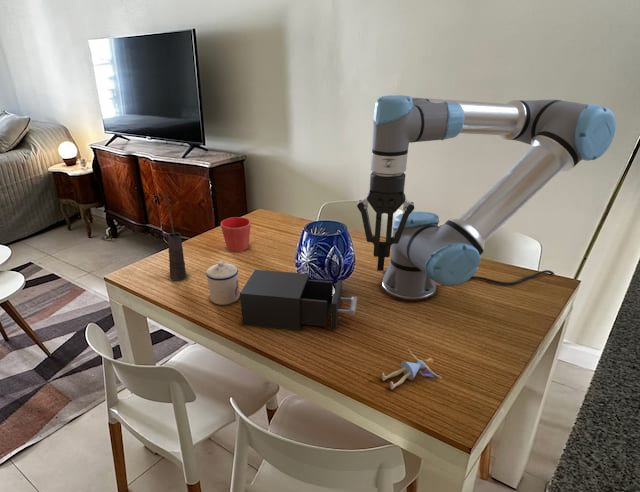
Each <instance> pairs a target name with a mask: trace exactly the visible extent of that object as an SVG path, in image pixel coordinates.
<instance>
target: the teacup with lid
mask: <svg viewBox="0 0 640 492" xmlns="http://www.w3.org/2000/svg"><path fill="white" fill-rule="evenodd" d="M238 274H239V269H238V267H237V266H236V265H234V264H232V263H228V262H225V261H223V260H219V261H218V262H217V263H216V264H213V265H211V266H209V267H208V268H207V270H206V273H205V276H206V277H207V284H208V291H209V298H210V301H211V302H212V303H214V304H215V305H220V306H221V305H222V306H223V305H231V304H234V303H235V302H237V301H238V300H240V287H239V286H240V285H239V275H238Z"/></svg>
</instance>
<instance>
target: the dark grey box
mask: <svg viewBox="0 0 640 492" xmlns="http://www.w3.org/2000/svg"><path fill="white" fill-rule="evenodd" d="M308 279H309V280H310V273H307V272H306V273H304V272H292V271H277V270H264V269H254V270H253V271H252V273H251V275H250V276H249V278H248V280H247V281H246V283H245V284H244V286H243V287H242V289H241V290H240V291H239V294H240V296H239V301H240V311H241V312H240V313H241V321H242V325H246V326H252V327H253V326H254V327H261V328H262V327H264V328H272V329H283V330H291V331H301V328H302V326H303V324H300V298H301V296H302V293H303V291H304V288H305V285H306V283H307V280H308Z"/></svg>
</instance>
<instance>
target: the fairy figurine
mask: <svg viewBox="0 0 640 492" xmlns="http://www.w3.org/2000/svg"><path fill="white" fill-rule="evenodd" d="M407 351H408V352H409V354H410V355H411V356H412V357H413V358H414V359H415V361H416V362H411V361H405V360H403V361H401V362H400V369H398V370H395V371H393V372H390V373H389V374H388V375H385V372H382V373H381V380H382V382H384V381H387V380H388V379H390V378H394V377H397V376H399V375H400V374H401V373H403V374H404V375H403V376H401V378H400V379H399V380H398V381H397V382H395V383H394V382H393V381H390V382H389V388H390V390H394V389H395V388H397V387H398V386H401V385H402V384H403V383H404V382H405V381H406V379H408V380H410V381H412V380H414V379H415V377H416V375H417V373H418V372H419V373H420V374H421V376H423V377H426V376H427V377H431V378H435V377H437V378H438V379H440V380H443V377H442V376H441V375H438V374H436V372H434V371H433V370H432V369H431V368H430V366H432V365H433V363H434V360H433V358H432V357H428V358H425V359H420V358H417V356H416V355H415V354H413V352H412V351H411V349H410V348H409V347H407ZM422 370H424V372H423V371H422Z"/></svg>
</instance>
